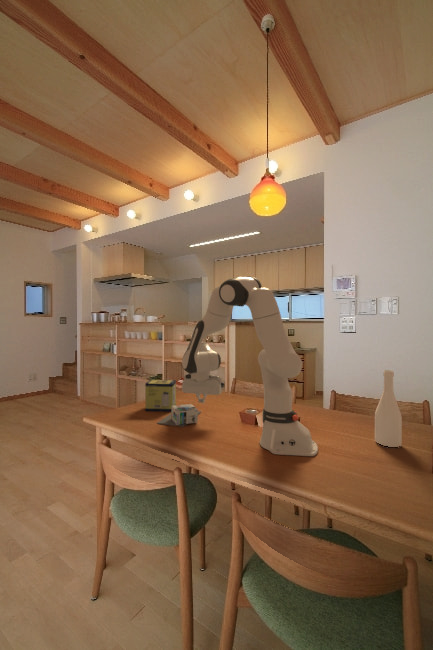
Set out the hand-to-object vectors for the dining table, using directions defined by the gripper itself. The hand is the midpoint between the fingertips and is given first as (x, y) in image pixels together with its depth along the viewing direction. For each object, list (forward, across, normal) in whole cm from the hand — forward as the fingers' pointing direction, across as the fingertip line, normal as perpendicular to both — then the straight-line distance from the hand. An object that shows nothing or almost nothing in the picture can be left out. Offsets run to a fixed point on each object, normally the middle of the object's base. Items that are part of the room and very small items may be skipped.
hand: (201, 402), depth 149 cm
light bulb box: (+5, +3, +2) cm, 6 cm away
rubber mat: (+9, +12, 0) cm, 14 cm away
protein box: (+9, +29, -11) cm, 32 cm away
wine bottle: (+10, -82, +4) cm, 83 cm away
